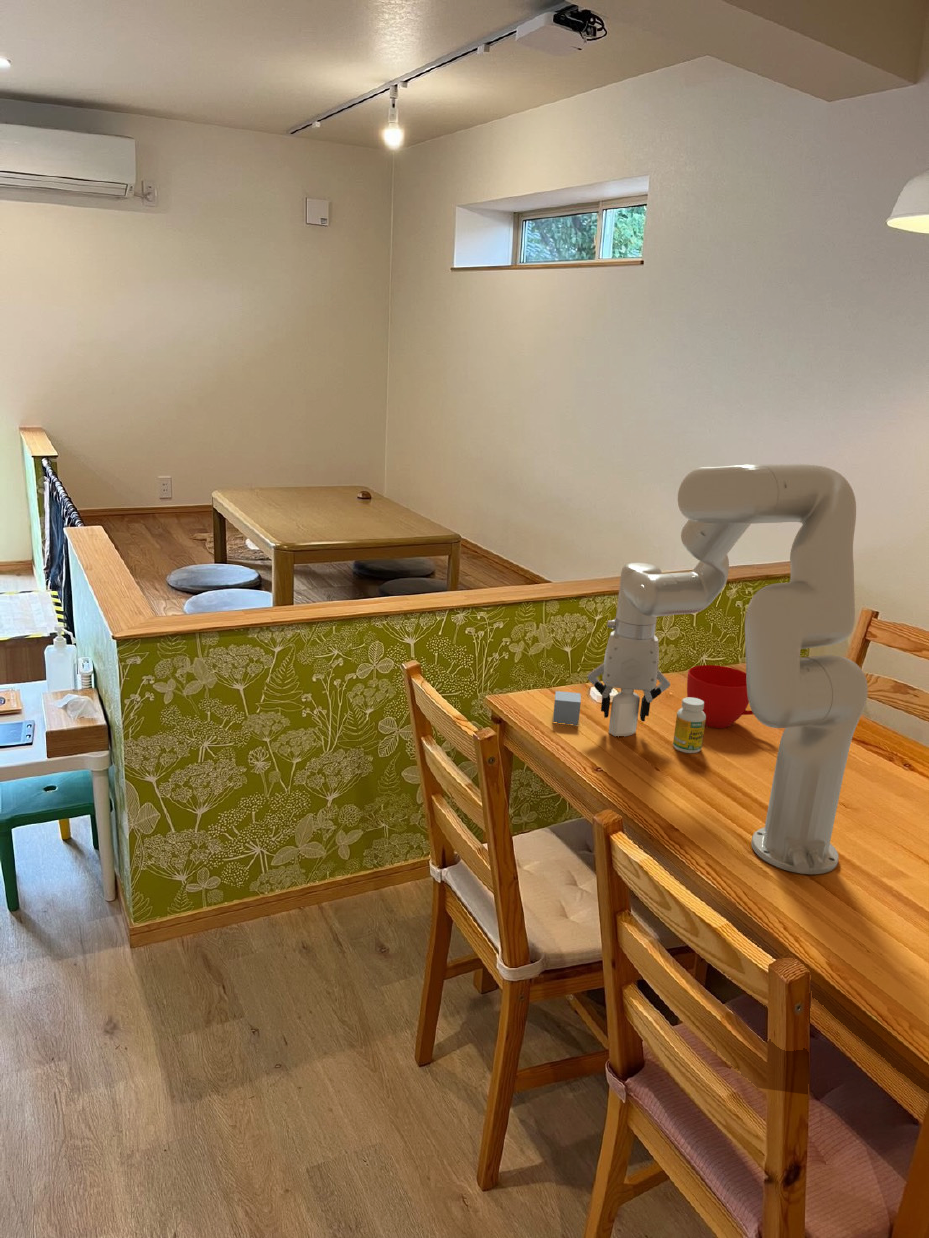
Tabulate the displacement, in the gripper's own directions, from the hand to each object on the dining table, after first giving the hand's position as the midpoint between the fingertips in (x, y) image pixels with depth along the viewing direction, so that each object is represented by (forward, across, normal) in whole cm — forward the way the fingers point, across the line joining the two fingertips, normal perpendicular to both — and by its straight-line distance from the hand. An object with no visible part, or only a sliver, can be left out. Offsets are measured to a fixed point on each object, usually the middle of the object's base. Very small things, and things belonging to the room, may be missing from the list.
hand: (624, 716), depth 184 cm
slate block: (+4, -11, +4) cm, 12 cm away
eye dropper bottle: (+4, 0, 0) cm, 4 cm away
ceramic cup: (+4, +21, +10) cm, 24 cm away
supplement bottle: (+4, +12, -4) cm, 13 cm away
